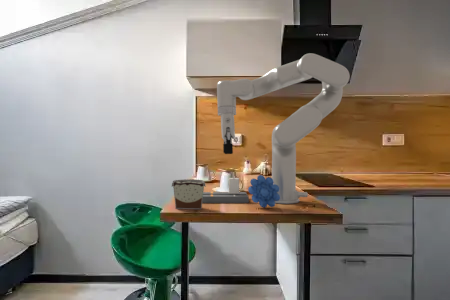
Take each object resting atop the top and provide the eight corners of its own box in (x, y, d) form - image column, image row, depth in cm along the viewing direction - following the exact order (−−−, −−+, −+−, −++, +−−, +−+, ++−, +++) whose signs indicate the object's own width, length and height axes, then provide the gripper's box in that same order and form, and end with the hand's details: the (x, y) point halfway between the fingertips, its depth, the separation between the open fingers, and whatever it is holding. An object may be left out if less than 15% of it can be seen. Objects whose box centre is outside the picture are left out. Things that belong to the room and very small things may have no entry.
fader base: (245, 197, 152) (245, 191, 152) (248, 202, 140) (248, 196, 140) (201, 197, 151) (201, 191, 151) (200, 202, 139) (200, 196, 139)
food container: (207, 206, 132) (208, 179, 132) (205, 209, 126) (205, 181, 126) (175, 205, 133) (175, 179, 133) (171, 208, 127) (171, 180, 127)
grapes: (248, 209, 126) (248, 176, 126) (248, 206, 133) (248, 174, 132) (281, 210, 125) (281, 176, 125) (279, 206, 132) (279, 174, 132)
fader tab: (238, 195, 147) (238, 177, 147) (238, 196, 144) (238, 178, 144) (228, 195, 147) (228, 177, 147) (229, 196, 144) (229, 178, 144)
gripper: (237, 109, 136) (239, 154, 136) (234, 113, 153) (235, 152, 153) (218, 109, 135) (219, 154, 136) (217, 113, 152) (218, 153, 153)
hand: (227, 153), depth 144 cm, fingers open, 9 cm apart
